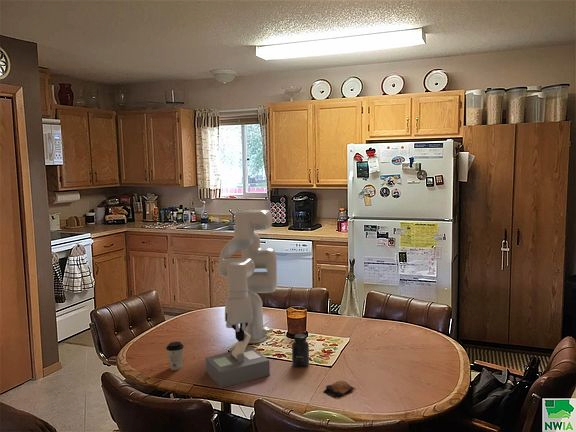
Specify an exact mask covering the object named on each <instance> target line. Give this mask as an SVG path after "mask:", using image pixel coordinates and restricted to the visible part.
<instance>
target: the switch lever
mask: <svg viewBox="0 0 576 432" xmlns="http://www.w3.org/2000/svg"><path fill="white" fill-rule="evenodd" d="M250 338H251V336H250V335H249V334H248V333H246V332H244V338H243V341H240V342H239V341H238V340H237V342H236V345H235V346H234V348H235V349H234V350H233V351H232V353H231V354H232V356H234V357H235V358H236V359H237V355H238V354H242V353H244V351H245V349H246V348H247V346H248V344H249V343H248V342H249V340H250Z"/></svg>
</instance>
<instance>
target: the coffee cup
mask: <svg viewBox="0 0 576 432" xmlns="http://www.w3.org/2000/svg"><path fill="white" fill-rule="evenodd" d="M165 349H166V354H167V359H168V363H169V368H170V370H171V371H178V370H181V369H182V368H183V355H184V353H183V352H184V345H183V344H182V342H181V341H172V342H169V343H168V345H167V346H166V347H165Z"/></svg>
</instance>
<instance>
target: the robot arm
mask: <svg viewBox="0 0 576 432" xmlns="http://www.w3.org/2000/svg"><path fill="white" fill-rule="evenodd" d="M272 225H273V214H272V212H271V211H270V209H249V210H247V209H245V210H239V211H236V213H235V214H234V231H233V238H232V239H230V240H229V241H228V242H227V243H226V244H225V245H224V246H223V247H222V249H221V251H220V254H219V259H218V266H217V267H218V269H217V270H218V273H219V275H220V276H221V277H223V278H227V295H228V296H227V297H226V298H225V303H224V304H225V305H224V322H225V327H226V329H233V330H234V332H235V340H237V342H238V341H239V342H240V341H243V338H244V332H246V333H248V334H249V335H250V336H251V338H250V340H249V342H248V344H259V343H262V342H264V341H266V340H267V339H268V335H267V334H268V333H273V331H274V328H273V327H269V328H268V327H264V313H263V310H264V309H263V300H262V298H261V297H260V296H259V293H261V294H262V293H267V294H268V293H274V292H275V291H276V290H277V287H278V285H277V284H278V275H277V274H278V272H277V269H278V268H277V266H278V265H277V254H276V251H275V250H274V249H273V248H271V247H261V237H260V235H259V234H258V232H257V231H265V230H269V229H270V228H271V227H272ZM239 252H241V257H231V256H233V255H234V254H236V253H239ZM263 269H264V270H266V271H255V270H263Z"/></svg>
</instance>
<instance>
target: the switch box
mask: <svg viewBox="0 0 576 432" xmlns="http://www.w3.org/2000/svg"><path fill="white" fill-rule="evenodd" d="M234 349H235V347H231V348H229V351H228V352H225V353H221V354H217V355H216V354H215V355H212V356H207V357H205V369H206V371H205V372H206V374H207V375H208V376H209V377H210V378H211V379H212V380H213V382H215V383H216V384H217V385H218V387H219V388H220V389H222V388H227V387H230V386H234V385H237V384H241V383H245V382H248V381H252V380H256V379H260V378H263V377H268V376H271V371H270V370H271V369H270V368H271V367H270V359H268V358H267V357H266V356H264V355H263V354H262V353H260V352H259V351H258V350H257V349H255V348H254V347H252V346H250V347H246V349H245V351H244V353H242V354H238V355H237V359H236V358H235V357H234V356H232V354H231V353H232V351H233V350H234Z"/></svg>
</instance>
